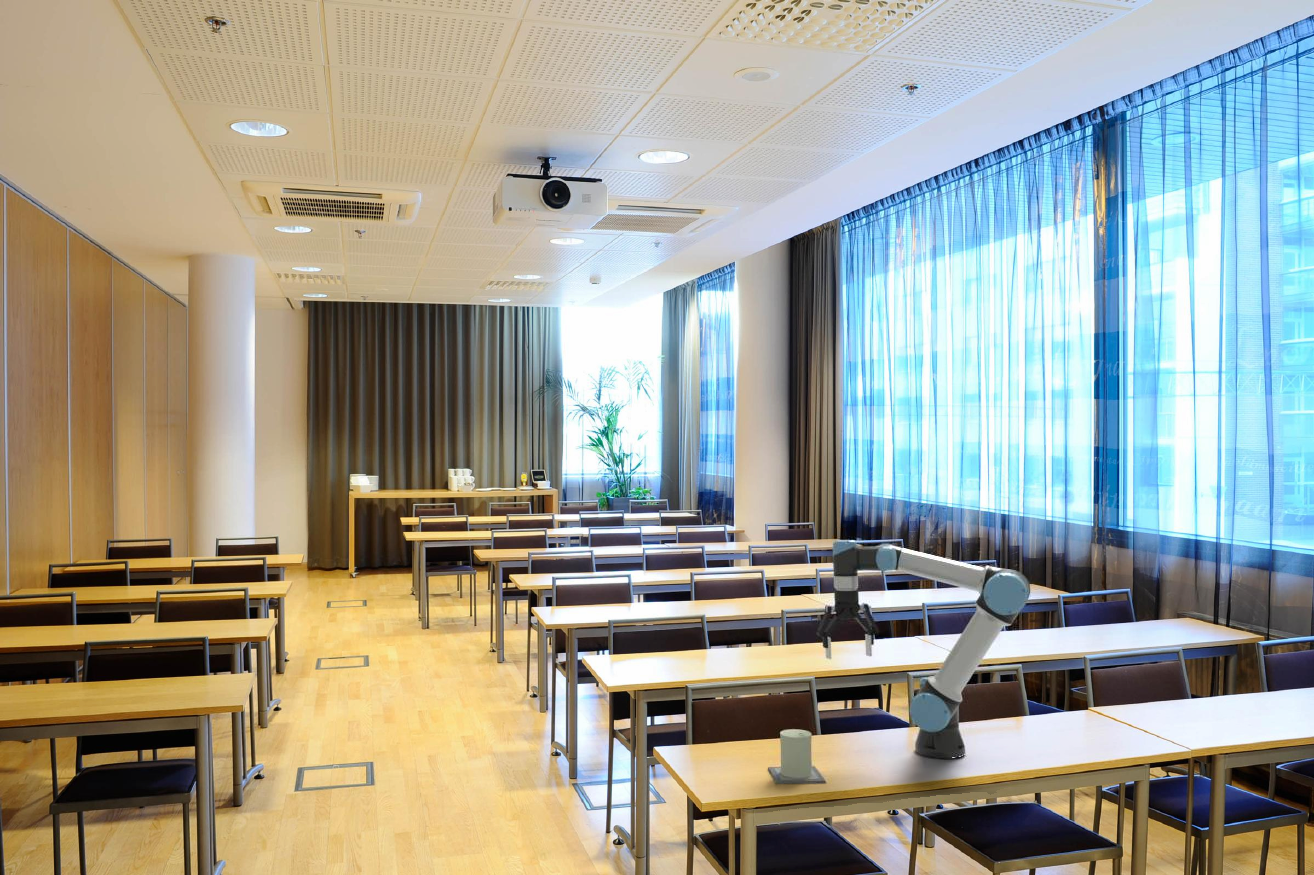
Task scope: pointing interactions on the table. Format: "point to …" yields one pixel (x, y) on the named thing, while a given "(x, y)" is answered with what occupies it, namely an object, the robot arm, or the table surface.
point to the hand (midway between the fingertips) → (848, 657)
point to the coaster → (781, 779)
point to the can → (796, 753)
